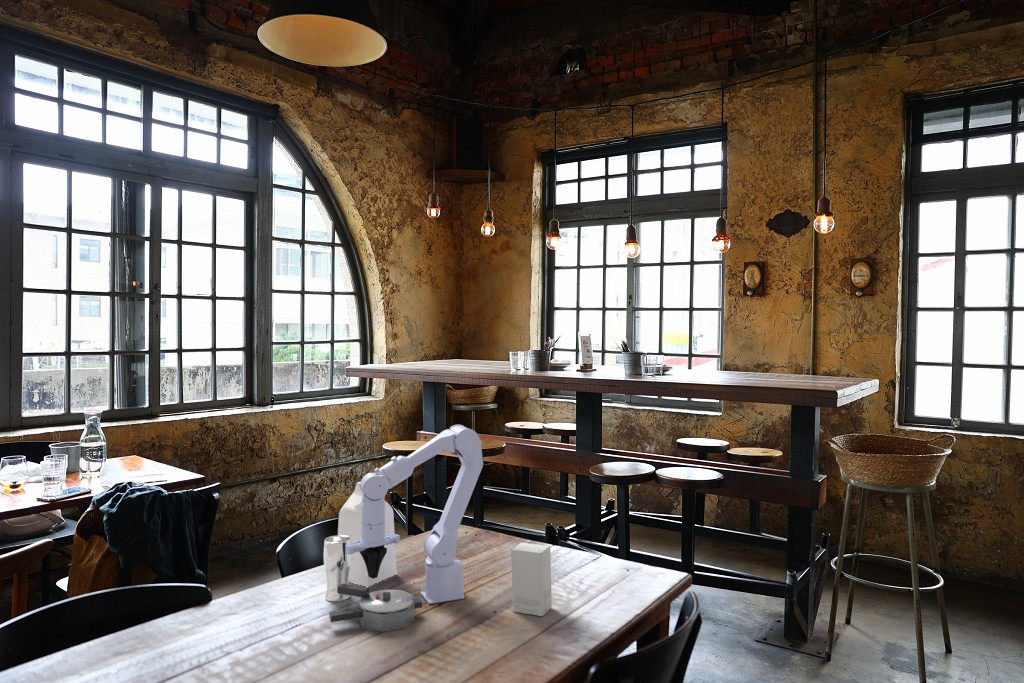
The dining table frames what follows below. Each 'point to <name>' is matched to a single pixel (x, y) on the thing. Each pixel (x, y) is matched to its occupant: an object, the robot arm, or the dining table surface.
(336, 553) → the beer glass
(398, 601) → the lid
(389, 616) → the pot
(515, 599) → the skincare box
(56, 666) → the dining table surface
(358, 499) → the milk
